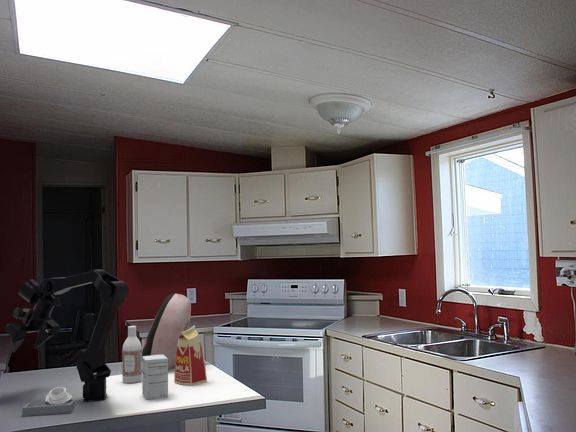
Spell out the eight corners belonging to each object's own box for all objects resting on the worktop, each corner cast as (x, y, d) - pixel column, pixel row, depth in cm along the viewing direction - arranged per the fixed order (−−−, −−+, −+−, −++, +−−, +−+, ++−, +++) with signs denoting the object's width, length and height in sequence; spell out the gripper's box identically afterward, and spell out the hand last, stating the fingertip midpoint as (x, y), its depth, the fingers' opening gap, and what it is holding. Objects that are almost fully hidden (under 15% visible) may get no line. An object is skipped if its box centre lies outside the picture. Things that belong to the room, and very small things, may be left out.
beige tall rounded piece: (148, 362, 234) (148, 292, 236) (194, 361, 235) (193, 291, 237) (137, 374, 212) (137, 296, 214) (188, 372, 214) (187, 295, 215)
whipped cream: (74, 401, 178) (75, 386, 179) (69, 405, 172) (70, 389, 173) (48, 401, 177) (49, 385, 178) (42, 405, 171) (44, 388, 171)
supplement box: (141, 394, 181) (141, 356, 182) (164, 391, 184) (164, 353, 185) (145, 399, 175) (145, 359, 175) (168, 397, 177) (168, 357, 178)
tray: (74, 408, 166) (74, 400, 167) (71, 412, 162) (71, 404, 162) (27, 411, 164) (27, 403, 164) (22, 416, 159) (22, 407, 160)
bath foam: (119, 383, 197) (119, 327, 198) (126, 379, 204) (126, 325, 205) (138, 383, 197) (138, 327, 198) (144, 379, 204) (144, 324, 205)
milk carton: (191, 378, 203) (190, 324, 205) (208, 381, 198) (207, 325, 199) (171, 383, 196) (171, 327, 198) (188, 386, 190) (188, 328, 192)
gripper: (49, 297, 198) (31, 334, 200) (4, 300, 181) (-14, 340, 183) (68, 313, 194) (50, 351, 196) (24, 318, 177) (5, 358, 179)
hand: (23, 349), depth 188 cm, fingers open, 9 cm apart
